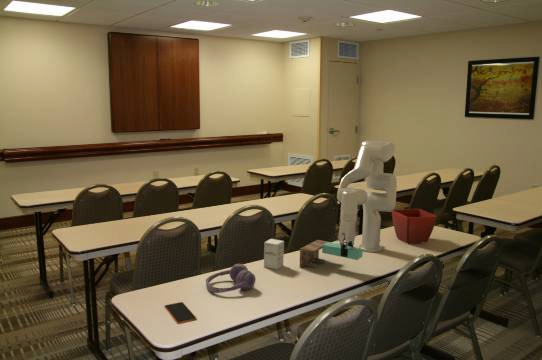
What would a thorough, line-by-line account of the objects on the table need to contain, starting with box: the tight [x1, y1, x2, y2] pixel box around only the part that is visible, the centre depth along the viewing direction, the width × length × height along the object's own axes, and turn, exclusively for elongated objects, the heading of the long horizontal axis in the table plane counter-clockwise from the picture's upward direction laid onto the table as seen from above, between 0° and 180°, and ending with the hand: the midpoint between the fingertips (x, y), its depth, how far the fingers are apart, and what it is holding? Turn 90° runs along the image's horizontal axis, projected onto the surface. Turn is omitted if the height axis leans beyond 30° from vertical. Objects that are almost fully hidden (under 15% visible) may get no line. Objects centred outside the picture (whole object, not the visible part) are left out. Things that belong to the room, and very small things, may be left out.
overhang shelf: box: [299, 239, 328, 269], centre depth 229 cm, size 18×7×10 cm, turn 147°
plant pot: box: [391, 208, 438, 245], centre depth 271 cm, size 19×19×17 cm
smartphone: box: [163, 301, 198, 325], centre depth 173 cm, size 8×17×1 cm, turn 29°
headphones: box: [205, 263, 256, 294], centre depth 198 cm, size 18×8×20 cm
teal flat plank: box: [321, 241, 364, 261], centre depth 220 cm, size 6×18×4 cm, turn 57°
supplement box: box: [263, 238, 285, 270], centre depth 224 cm, size 7×7×13 cm
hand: (346, 254), depth 219 cm, fingers closed on teal flat plank, 6 cm apart
